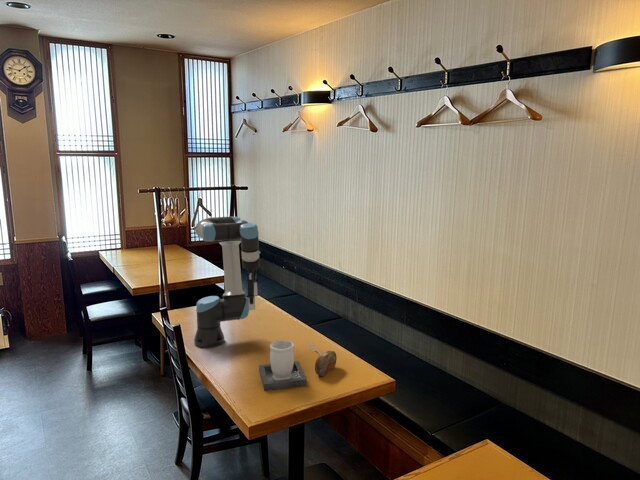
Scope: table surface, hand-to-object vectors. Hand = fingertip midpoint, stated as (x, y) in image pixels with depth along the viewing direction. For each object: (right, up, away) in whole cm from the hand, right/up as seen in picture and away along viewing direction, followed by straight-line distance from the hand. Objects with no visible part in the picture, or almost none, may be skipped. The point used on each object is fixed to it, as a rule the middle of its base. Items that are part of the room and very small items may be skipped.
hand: (253, 302), depth 207 cm
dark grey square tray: (+14, -32, -8) cm, 36 cm away
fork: (+30, -28, +16) cm, 44 cm away
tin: (+33, -31, -2) cm, 45 cm away
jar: (+14, -32, -9) cm, 35 cm away
